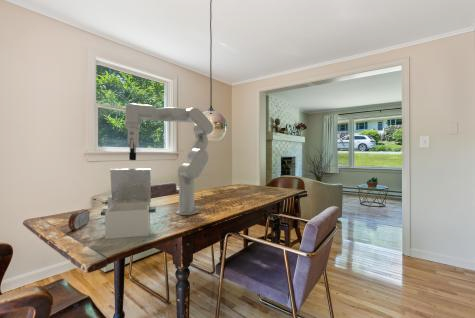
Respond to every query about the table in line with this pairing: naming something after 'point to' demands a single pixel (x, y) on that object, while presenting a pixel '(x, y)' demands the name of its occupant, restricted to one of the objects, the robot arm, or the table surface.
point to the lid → (130, 185)
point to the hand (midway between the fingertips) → (132, 160)
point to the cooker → (127, 220)
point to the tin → (78, 219)
